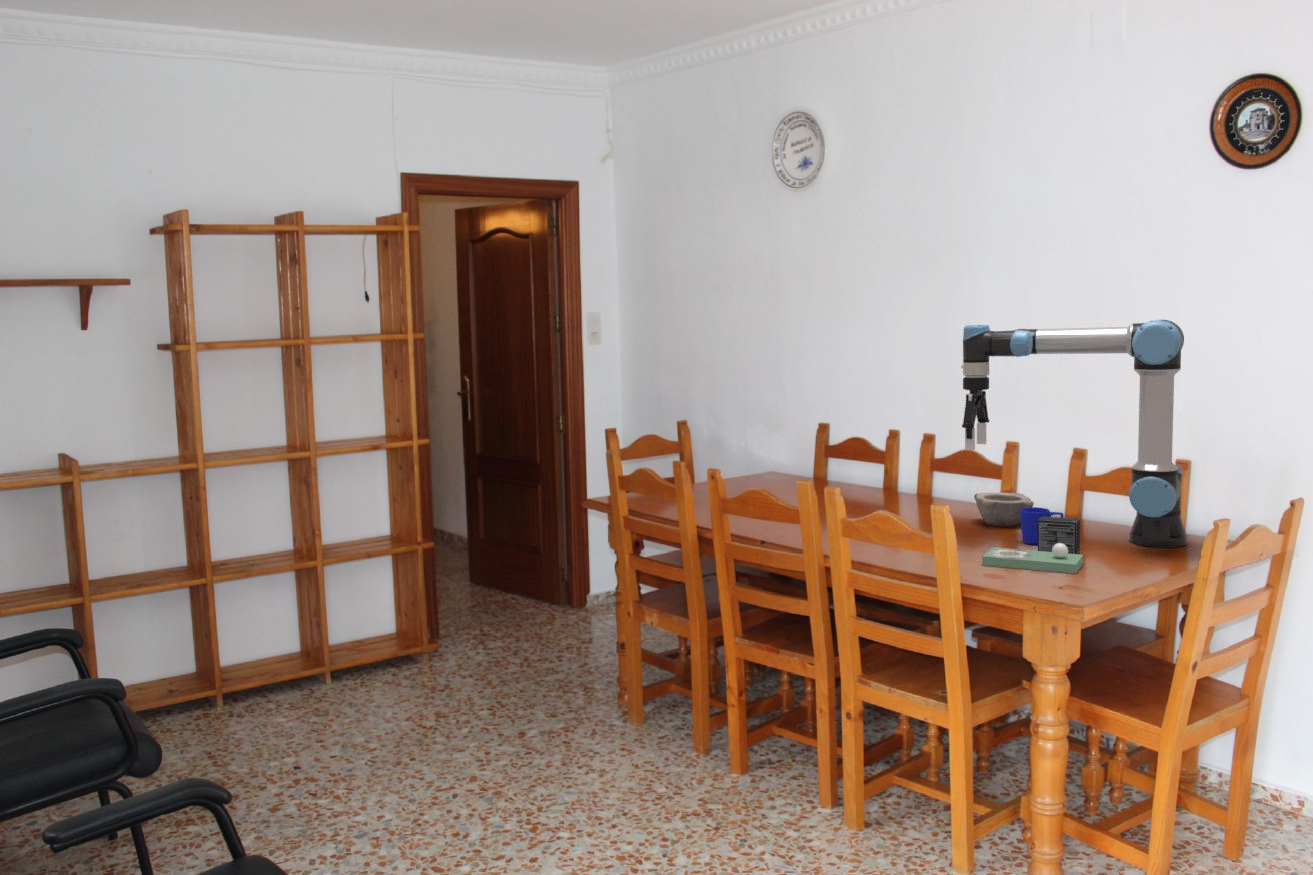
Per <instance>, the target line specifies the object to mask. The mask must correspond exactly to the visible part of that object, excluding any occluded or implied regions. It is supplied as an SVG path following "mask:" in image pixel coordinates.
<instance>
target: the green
mask: <svg viewBox="0 0 1313 875" xmlns="http://www.w3.org/2000/svg"><path fill="white" fill-rule="evenodd" d="M981 556H982V557H981V558H982V561H981V566H984V567H985V566H986V567H987V566H988V567H997V568H1006V569H1007V568H1008V569H1018V570H1019V569H1020V570H1031V571H1041V572H1048V573H1049V572H1050V573H1051V572H1052V573H1062V574H1063V573H1064V574H1074V575H1077V573H1078V572H1079V570H1080V569H1081V568H1082V566H1083V565H1084V554H1081V553H1080V554H1067V555H1066V556H1065V557H1063V558H1057V557H1055V556H1054V555H1053V553H1052V552H1044V551H1038V550H1030V549H1019V548H1005V547H996V546H995V547H991V548H990V549H989V550H988V551H987V552H986V553H984V554H983V555H981Z"/></svg>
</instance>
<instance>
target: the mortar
mask: <svg viewBox="0 0 1313 875" xmlns="http://www.w3.org/2000/svg"><path fill="white" fill-rule="evenodd" d="M973 496H974V500H975V503H976V506H977V509H978V510H977V511H978V512H979V514H980V516H981V518H982V519H983V520H984V522H985V523H986V524H987V525H989V526H993V527H1007V528H1008V527H1015V526H1017V525H1020V524H1021V515H1020V509H1022V508H1028V507H1034V503H1035V502H1034V501H1033V500H1031V498H1030V497H1028V496H1027V495H1024V493H1018V492H1017V493H1016V492H1015V493H1014V492H977V493H975V494H974V495H973Z"/></svg>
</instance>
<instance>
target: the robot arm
mask: <svg viewBox="0 0 1313 875" xmlns="http://www.w3.org/2000/svg"><path fill="white" fill-rule="evenodd" d="M1184 344H1185V336H1184V333H1183V329H1182V328H1181V327H1180V326H1179V325H1178V324H1177V323H1176V322H1174V321H1171V320H1168V319H1156V320H1150V321H1146V322H1138V323H1136V322H1135V323H1131V324H1130V325H1129V326H1126V327H1125V326H1122V327H1121V326H1119V327H1112V326H1109V327H1079V328H1078V327H1077V328H1076V327H1073V328H1072V327H1071V328H1070V327H1069V328H1067V327H1065V328H1038V329H1037V328H1030V329H1029V328H1027V329H1026V328H1017V329H1013V330H1000V331H999V330H997V331H996V330H991V329H990V326H989V324H967V325H966V326H964V327H963V334H962V356H963V357H962V358H963V360H962V365H961V367H960V368H961V369H962V376H964V377H962V389H963V390H965V391H969V393H967V394H965V406H964V413H963V414H964V415H963V422H962V424H961V427H962V428H963V429H964V432H965V433H964V450H969V451H975V450H976V445H987V424H988V423H990V418H989V413H988V405H987V397H986V396H987V392H986V390H987V391H988V390H989V389H990V378H989V375H990V357H1017V358H1020V357H1028V356H1030V355H1048V354H1049V355H1063V354H1064V355H1065V354H1066V355H1070V354H1074V355H1076V354H1077V355H1078V354H1081V355H1082V354H1083V355H1085V354H1086V355H1087V354H1088V355H1089V354H1090V355H1091V354H1093V355H1094V354H1095V355H1096V354H1098V355H1099V354H1100V355H1101V354H1128V355H1129V356H1130V357H1131V358H1133V362H1134V363H1133V370H1134V372H1136V373H1137V375H1139V393H1138V394H1139V395H1138V396H1139V399H1138V401H1139V402H1138V404H1139V405H1138V438H1137V439H1138V442H1137V444H1138V448H1137V450H1138V451H1137V461H1136V462H1135V463H1134V464H1133V465H1132V466H1131V487H1130V488H1129V492H1128V499H1129V503H1130V505H1131V506H1132V508H1133V509H1134V511H1136V516H1135V518H1134V521H1133V524H1132V526H1131V529H1130V532H1129V542H1130V543H1132V544H1135V545H1139V546H1144V547H1150V548H1178V547H1184V546H1186V545H1188V535H1187V533H1186V529H1185V526H1184V523H1183V520H1182V483H1183V482H1182V481H1183V480H1182V478H1183V471H1182V470H1183V469H1182V467H1181V465H1177V464H1174V462H1173V438H1174V434H1173V432H1174V398H1175V397H1174V396H1175V393H1174V392H1175V376H1176V374H1177V373H1179V372H1180V371H1181V365H1182V363H1181V362H1182V349H1183V346H1184ZM976 419H977V422H976ZM975 422H976V428H975Z"/></svg>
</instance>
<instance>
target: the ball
mask: <svg viewBox="0 0 1313 875" xmlns="http://www.w3.org/2000/svg"><path fill="white" fill-rule="evenodd" d="M1052 553H1053V555H1054V556H1055V557H1057V558H1063V557H1065V556H1066V555H1067V554H1068V548H1067V546H1066V545H1064V544H1062V543H1057V544H1055V545H1054V546H1053V548H1052Z"/></svg>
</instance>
